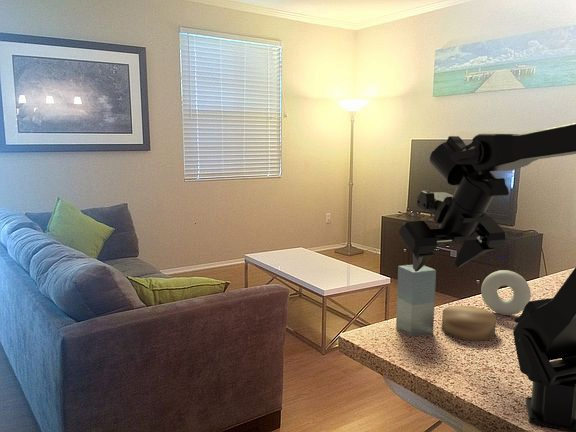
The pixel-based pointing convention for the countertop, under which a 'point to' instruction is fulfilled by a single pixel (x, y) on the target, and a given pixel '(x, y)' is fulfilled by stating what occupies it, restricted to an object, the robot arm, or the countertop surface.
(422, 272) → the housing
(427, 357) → the countertop surface
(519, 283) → the donut
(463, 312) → the pedestal
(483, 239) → the robot arm
